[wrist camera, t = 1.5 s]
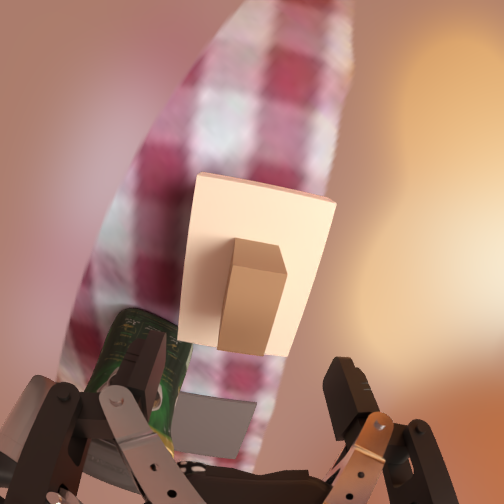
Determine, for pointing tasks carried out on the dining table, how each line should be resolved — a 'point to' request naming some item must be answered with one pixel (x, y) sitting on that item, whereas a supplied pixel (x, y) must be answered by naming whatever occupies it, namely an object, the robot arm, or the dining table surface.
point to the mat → (210, 425)
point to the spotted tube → (191, 467)
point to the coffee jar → (177, 361)
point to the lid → (250, 263)
